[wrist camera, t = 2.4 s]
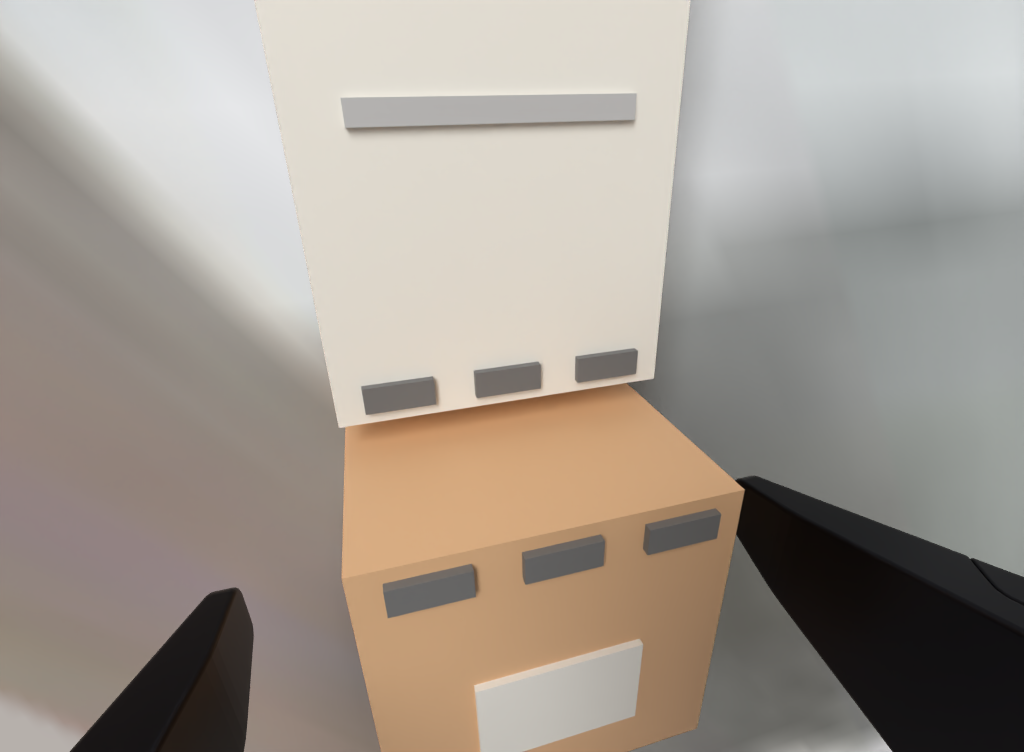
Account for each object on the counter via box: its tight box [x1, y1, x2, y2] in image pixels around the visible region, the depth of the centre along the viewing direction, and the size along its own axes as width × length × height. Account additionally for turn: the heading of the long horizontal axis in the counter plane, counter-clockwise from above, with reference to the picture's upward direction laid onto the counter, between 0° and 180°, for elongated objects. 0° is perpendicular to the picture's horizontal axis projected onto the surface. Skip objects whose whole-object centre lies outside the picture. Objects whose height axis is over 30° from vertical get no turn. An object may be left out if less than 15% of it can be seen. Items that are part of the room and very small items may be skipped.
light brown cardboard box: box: [342, 383, 745, 752], centre depth 10 cm, size 5×5×6 cm
